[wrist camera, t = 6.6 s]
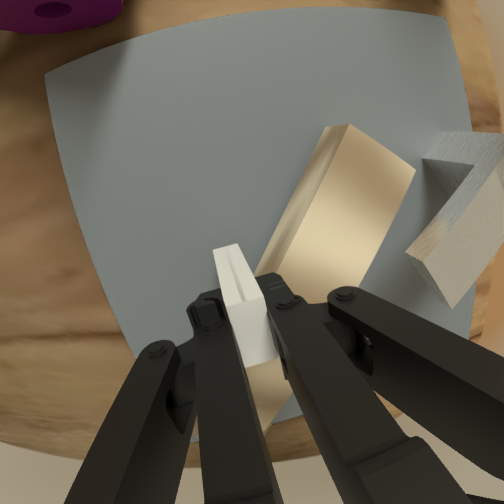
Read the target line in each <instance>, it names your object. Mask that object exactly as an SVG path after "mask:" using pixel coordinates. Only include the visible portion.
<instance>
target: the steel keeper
mask: <svg viewBox="0 0 504 504" xmlns="http://www.w3.org/2000/svg"><path fill="white" fill-rule="evenodd" d="M422 159H423V161H424V162H425V164H426V165H427V167H428V169H429V170H430V172H431V173H432V175H433V177H434V178H435V180H436V182H437V183H438V185H439V187H440V188H441V190H442V192H443V194H444V195H445V197H446V199H447V203H446V204H445V205H444V206H443V208H442V209H441V210H440V211H439V212H438V214H437V215H436V216H435V217H434V219H433V220H432V221H431V222H430V223H429V225H428V226H427V227H426V228H425V229H424V230H423V232H422V233H421V234H420V235H419V236H418V237H417V239H416V240H415V241H414V242H413V243H412V244H411V245H410V247H409V248H408V249H407V250H406V251H405V253H406V254H407V256H408V257H409V258H410V260H411V261H412V263H413V264H414V266H415V267H416V269H417V270H418V272H419V273H420V275H421V276H422V277H423V279H424V281H425V282H426V284H427V285H428V287H429V288H430V290H431V291H432V293H433V294H434V296H435V297H436V298H437V299H438V300H439V301H441V302H442V303H444V304H445V305H446V306H448V307H449V308H451V309H453V308H454V307H455V305H456V304H457V303H458V302H459V301H460V299H461V298H462V297H463V296H464V295H465V293H466V292H467V291H468V290H469V288H470V287H471V286H472V285H473V283H474V282H475V281H476V279H477V278H478V277H479V275H480V274H481V273H482V271H483V270H484V269H485V267H486V266H487V265H488V263H489V262H490V261H491V259H492V258H493V256H494V255H495V254H496V252H497V251H498V249H499V248H500V246H501V245H502V243H503V242H504V134H498V133H482V132H459V131H444V132H443V134H442V135H441V136H440V137H439V138H438V140H437V141H436V142H435V143H434V144H433V146H432V147H431V148H430V149H429V150H428V151H427V153H426V154H425V155H424V156H423V157H422Z"/></svg>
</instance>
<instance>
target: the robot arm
mask: <svg viewBox="0 0 504 504" xmlns="http://www.w3.org/2000/svg"><path fill="white" fill-rule="evenodd" d="M213 254H214V259H215V263H216V268H217V273H218V277H219V282H220V287H221V288H218V289H215V290H211V291H207V292H204V293H200V295H199V296H198V297H197V299H196V300H195V301H194V302H192V303H191V304H190V305H189V306H188V307H187V309H186V312H187V315H188V317H189V320H190V323H191V325H192V328H193V335H194V336H193V337H192V338H191V339H190V340H188V341H187V342H185V343H183V344H181V345H179V346H175V344H174V342H172V341H170V340H160V341H155V342H152V343H150V344H149V345H147V346H146V347H145V348H144V349H143V350H142V351H141V352H140V354H139V356H138V358H137V359H136V361H135V363H134V365H133V367H132V369H131V370H130V372H129V374H128V376H127V378H126V380H125V382H124V383H123V385H122V387H121V389H120V391H119V393H118V395H117V397H116V399H115V400H114V402H113V404H112V406H111V408H110V410H109V412H108V414H107V416H106V418H105V420H104V422H103V424H102V426H101V427H100V429H99V431H98V433H97V435H96V437H95V439H94V441H93V443H92V445H91V447H90V449H89V451H88V453H87V455H86V458H85V460H84V462H83V464H82V466H81V468H80V470H79V472H78V474H77V476H76V478H75V481H74V483H73V485H72V487H71V489H70V491H69V493H68V496H67V497H66V500H65V502H64V504H174V503H175V499H176V495H177V491H178V487H179V483H180V479H181V475H182V471H183V467H184V463H185V459H186V455H187V452H188V448H189V444H190V440H191V436H192V432H193V428H194V424H195V420H196V416H197V420H198V434H199V447H200V459H201V470H202V480H203V490H204V502H205V503H204V504H284V502H283V499H282V496H281V493H280V489H279V486H278V483H277V480H276V476H275V473H274V469H273V466H272V462H271V459H270V456H269V452H268V449H267V445H266V442H265V438H264V435H263V431H262V427H261V424H260V420H259V417H258V413H257V409H256V406H255V402H254V398H253V395H252V391H251V387H250V384H249V380H248V376H247V373H246V370H245V368H246V367H250V366H253V365H257V364H261V363H264V362H267V361H271V360H274V359H277V358H279V357H280V361H281V365H282V369H283V373H284V378H285V380H288V381H289V384H290V386H291V388H292V390H293V393H294V395H295V397H296V399H297V402H298V404H299V406H300V408H301V411H302V413H303V415H304V417H305V420H306V422H307V424H308V426H309V428H310V431H311V433H312V435H313V437H314V440H315V442H316V444H317V446H318V448H319V451H320V453H321V455H322V457H323V459H324V462H325V464H326V466H327V468H328V470H329V472H330V475H331V477H332V479H333V481H334V483H335V485H336V487H337V490H338V492H339V494H340V496H341V498H342V501H343V503H344V504H504V501H500V500H495V499H490V498H484V497H480V496H475V495H470V494H465V492H464V491H463V490H462V488H461V487H460V486H459V484H458V483H457V482H456V480H455V479H454V478H453V476H452V475H451V474H450V473H449V471H448V470H447V468H446V467H445V466H444V464H443V463H442V462H441V461H440V459H439V458H438V457H437V455H436V454H435V453H434V452H433V450H432V449H431V447H430V446H429V445H428V444H427V443H426V442H425V441H424V440H423V439H422V438H420V437H418V436H415V437H411V438H410V437H408V436H407V435H406V434H405V433H404V432H403V431H402V429H401V428H400V426H399V425H398V424H397V422H396V421H395V420H394V418H393V417H392V416H391V414H390V413H389V411H388V410H387V409H386V407H385V406H384V405H383V403H382V402H381V401H380V399H379V398H378V397H377V395H376V394H375V393H374V391H376V392H377V393H378V394H379V395H381V396H382V397H383V398H385V399H386V400H387V401H389V402H390V403H391V404H393V405H394V406H395V407H397V408H398V409H399V410H401V411H402V412H403V413H405V414H406V415H407V416H409V417H410V418H411V419H413V420H414V421H416V422H417V423H418V424H420V425H421V426H422V427H424V428H425V429H426V430H428V431H429V432H430V433H432V434H433V435H435V436H436V437H437V438H439V439H440V440H442V441H443V442H444V443H446V444H447V445H449V446H450V447H451V448H453V449H454V450H455V451H457V452H458V453H460V454H461V455H463V456H464V457H465V458H467V459H468V460H470V461H471V462H473V463H474V464H475V465H477V466H478V467H480V468H481V469H483V470H484V471H486V472H488V473H489V474H491V475H493V476H494V477H496V478H499V479H501V480H503V481H504V357H502V356H500V355H498V354H496V353H494V352H492V351H490V350H487V349H486V348H484V347H482V346H480V345H478V344H476V343H474V342H472V341H470V340H467V339H465V338H463V337H461V336H459V335H457V334H455V333H453V332H451V331H449V330H447V329H445V328H443V327H441V326H439V325H436V324H434V323H432V322H430V321H428V320H426V319H424V318H422V317H420V316H418V315H416V314H414V313H411V312H409V311H407V310H405V309H403V308H401V307H399V306H397V305H395V304H393V303H390V302H388V301H386V300H384V299H382V298H380V297H378V296H376V295H374V294H371V293H369V292H367V291H365V290H363V289H361V288H358V287H355V286H344V287H343V286H342V287H339V288H337V289H334V290H332V291H331V292H329V294H328V295H327V302H324V303H316V304H308V303H307V302H306V300H305V299H304V298H303V297H301V296H299V295H294V294H293V292H292V291H291V289H290V288H289V287H288V285H287V284H286V282H285V281H284V280H283V278H282V277H281V275H279V274H276V273H274V272H271V273H268V274H265V275H261V276H258V277H254V276H253V274H252V272H251V270H250V268H249V266H248V264H247V262H246V260H245V258H244V256H243V254H242V252H241V250H240V248H239V246H238V244H237V243H236V244H232V245H229V246H225V247H221V248H218V249H214V250H213ZM367 338H368V339H369V340H368V339H367ZM277 352H278V353H277ZM278 354H279V357H278ZM372 389H373V390H374V391H373V390H372Z"/></svg>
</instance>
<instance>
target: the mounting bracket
mask: <svg viewBox="0 0 504 504" xmlns="http://www.w3.org/2000/svg"><path fill="white" fill-rule="evenodd" d="M122 5H123V0H0V30H6V31H12V32H18V33H25V34H58V33H63V32H68V31H74V30H80V29H86V28H93V27H97V26H99V25H102V24H105V23H107V22H109V21H110V20H112V19H114V18H115V17H116V16H117V15H118V14H119V13H120V11H121V9H122Z"/></svg>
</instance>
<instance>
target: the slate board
mask: <svg viewBox="0 0 504 504" xmlns="http://www.w3.org/2000/svg"><path fill="white" fill-rule="evenodd" d="M44 79H45V85H46V92H47V98H48V103H49V109H50V114H51V119H52V124H53V129H54V134H55V138H56V143H57V147H58V151H59V155H60V159H61V163H62V167H63V171H64V175H65V178H66V182H67V186H68V189H69V193H70V196H71V199H72V203H73V206H74V209H75V212H76V215H77V219H78V222H79V225H80V228H81V231H82V234H83V236H84V239H85V242H86V245H87V248H88V251H89V253H90V256H91V259H92V261H93V264H94V267H95V269H96V272H97V274H98V277H99V279H100V282H101V284H102V287H103V289H104V292H105V294H106V296H107V299H108V301H109V303H110V306H111V308H112V310H113V312H114V315H115V317H116V319H117V321H118V324H119V326H120V328H121V330H122V332H123V334H124V336H125V338H126V341H127V343H128V345H129V347H130V349H131V351H132V353H133V355H134V357H135V359H137V358H138V356H139V354H140V352H141V351H142V350H143V349H144V348H145V347H146V346H147V345H149V344H150V343H152V342H155V341H160V340H170V341H172V342H174V344H175V346H179V345H181V344H183V343H185V342H187V341H188V340H190V339H191V338H192V337H193V336H194V335H193V328H192V325H191V323H190V320H189V317H188V315H187V312H186V309H187V307H188V306H189V305H190V304H191V303H192V302H194V301H195V300H196V299H197V297H198V296H199V295H200V293H204V292H207V291H211V290H215V289H218V288H221V287H220V282H219V277H218V273H217V268H216V263H215V259H214V254H213V250H214V249H218V248H221V247H225V246H229V245H232V244H236V243H237V244H238V246H239V248H240V250H241V252H242V254H243V256H244V258H245V260H246V262H247V264H248V266H249V268H250V270H251V272H252V274H254V272H255V270H256V268H257V266H258V264H259V262H260V260H261V258H262V256H263V254H264V252H265V250H266V248H267V246H268V244H269V242H270V240H271V238H272V236H273V234H274V232H275V230H276V228H277V225H278V223H279V221H280V219H281V217H282V215H283V213H284V211H285V209H286V207H287V205H288V203H289V201H290V199H291V197H292V195H293V193H294V191H295V189H296V187H297V185H298V183H299V181H300V179H301V177H302V175H303V172H304V170H305V168H306V166H307V164H308V162H309V160H310V158H311V156H312V154H313V152H314V150H315V148H316V146H317V144H318V142H319V140H320V137H321V135H322V133H323V131H324V129H325V127H328V126H336V125H343V124H351V125H352V126H354V127H356V128H357V129H359V130H360V131H362V132H363V133H365V134H366V135H368V136H369V137H371V138H372V139H374V140H375V141H377V142H378V143H380V144H381V145H382V146H384V147H385V148H387V149H388V150H390V151H391V152H392V153H394V154H395V155H397V156H398V157H399V158H401V159H402V160H403V161H405V162H406V163H407V164H409V165H410V166H411V167H413V168H414V169H415V170H416V171H415V174H414V176H413V178H412V181H411V183H410V185H409V187H408V190H407V192H406V194H405V196H404V198H403V200H402V203H401V205H400V207H399V209H398V211H397V213H396V215H395V217H394V219H393V221H392V223H391V225H390V227H389V230H388V232H387V234H386V236H385V237H384V239H383V241H382V243H381V245H380V247H379V249H378V251H377V253H376V255H375V257H374V259H373V261H372V263H371V264H370V266H369V268H368V270H367V272H366V274H365V275H364V277H363V279H362V281H361V283H360V285H359V286H358V288H361V289H363V290H365V291H367V292H369V293H371V294H374V295H376V296H378V297H380V298H382V299H384V300H386V301H388V302H390V303H393V304H395V305H397V306H399V307H401V308H403V309H405V310H407V311H409V312H411V313H414V314H416V315H418V316H420V317H422V318H424V319H426V320H428V321H430V322H432V323H434V324H436V325H439V326H441V327H443V328H445V329H447V330H449V331H451V332H453V333H455V334H457V335H459V336H461V337H463V338H465V339H467V340H468V339H469V333H470V327H471V320H472V313H473V305H474V296H475V286H476V281H475V282H474V283H473V285H472V286H471V287H470V288H469V290H468V291H467V292H466V293H465V295H464V296H463V297H462V298H461V299H460V301H459V302H458V303H457V304H456V305H455V307H454V308H453V309H451V308H449V307H448V306H446V305H445V304H444V303H442V302H441V301H439V300H438V299H437V298H436V297H435V296H434V294H433V293H432V291H431V290H430V288H429V287H428V285H427V284H426V282H425V281H424V279H423V277H422V276H421V275H420V273H419V272H418V270H417V269H416V267H415V266H414V264H413V263H412V261H411V260H410V258H409V257H408V256H407V254H406V253H405V251H406V250H407V249H408V248H409V247H410V245H411V244H412V243H413V242H414V241H415V240H416V239H417V237H418V236H419V235H420V234H421V233H422V232H423V230H424V229H425V228H426V227H427V226H428V225H429V223H430V222H431V221H432V220H433V219H434V217H435V216H436V215H437V214H438V212H439V211H440V210H441V209H442V208H443V206H444V205H445V204H446V203H447V199H446V197H445V195H444V194H443V192H442V190H441V188H440V187H439V185H438V183H437V182H436V180H435V178H434V177H433V175H432V173H431V172H430V170H429V169H428V167H427V165H426V164H425V162H424V161H423V159H422V157H423V156H424V155H425V154H426V153H427V151H428V150H429V149H430V148H431V147H432V146H433V144H434V143H435V142H436V141H437V140H438V138H439V137H440V136H441V135H442V134H443V132H444V131H459V132H472V126H471V120H470V114H469V108H468V102H467V97H466V92H465V87H464V82H463V78H462V74H461V69H460V65H459V61H458V58H457V54H456V50H455V47H454V43H453V40H452V36H451V33H450V30H449V27H448V24H447V21H446V18H445V17H440V16H435V15H429V14H422V13H415V12H408V11H399V10H389V9H377V8H360V7H304V8H286V9H274V10H264V11H255V12H247V13H240V14H233V15H227V16H221V17H216V18H210V19H205V20H200V21H195V22H191V23H186V24H182V25H178V26H174V27H170V28H166V29H162V30H159V31H155V32H152V33H148V34H145V35H142V36H138V37H135V38H132V39H129V40H126V41H123V42H120V43H117V44H114V45H111V46H109V47H106V48H103V49H101V50H98V51H96V52H93V53H90V54H88V55H86V56H83V57H81V58H78V59H76V60H74V61H71V62H69V63H67V64H65V65H62V66H60V67H58V68H56V69H54V70H52V71H50V72H48V73H46V74H44ZM367 339H368V338H367ZM368 340H369V339H368ZM301 415H303V413H302V411H301V408H300V406H299V404H298V402H297V399H296V397H295V395H294V393H293V392H292V394H291V395H290V396H289V398H288V399H287V401H286V402H285V404H284V405H283V406H282V408H281V409H280V411H279V412H278V413H277V415H276V416H275V417H274V419H273V420H272V423H271V424H274V423H278V422H281V421H284V420H288V419H291V418H294V417H297V416H301ZM198 441H199V439H198V438H197V437H196V436H195V434H194V433H193V432H192V436H191V440H190V443H193V442H198Z"/></svg>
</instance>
